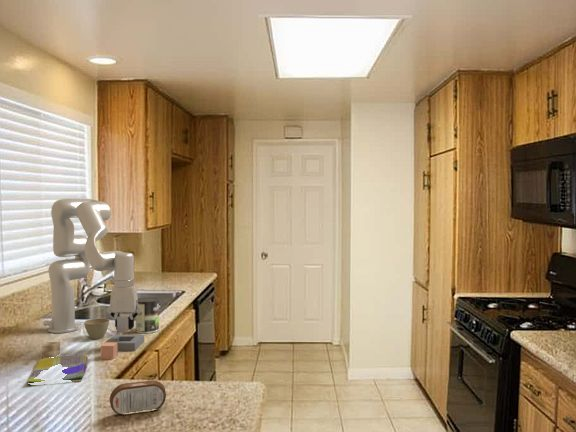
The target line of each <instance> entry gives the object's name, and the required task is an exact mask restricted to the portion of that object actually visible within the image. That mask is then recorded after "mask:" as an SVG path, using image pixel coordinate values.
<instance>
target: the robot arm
mask: <svg viewBox="0 0 576 432" xmlns="http://www.w3.org/2000/svg"><path fill="white" fill-rule="evenodd" d="M50 213H51V214H50V215H51V219H52V220H51V221H52V224H53V234H52V235H53V236H52V238H53V239H52V251H53V254H54V255H55V256H56V257H58V258H65V259H60V260H55V261H53V262H51V263H50V265H49V266H48V277H49V281H50V290H51V291H50V292H51V293H50V294H51V295H50V296H51V298H50V299H51V303H50V304H51V319H50V320H44V321H43V326H45V327H46V326H48V328H47V331H48V332H49V333H50V334H51V333H52V334H65V333H70V332H71V333H72V332H74V331H75V332H76V331H77V330H79V324H76V316H75V315H76V314H75V313H76V312H75V311H76V310H75V309H76V308H75V307H76V304H75V303H76V301H75V289H74V286H73V285H72V284H71V282H70V281H75V280H81V279H85V278H86V277H88V275H89V273H90V269H91V268H92V269H93V270H95V271H97V272H103V271H104V272H105V271H112V270H113V273H114V274H113V276H114V278H113V280H110V284H111V285H113V287H112V288H111V293H110V301H109V306H108V307H107V308H106V313H108V315H110V316H111V317H112V318H113V320H114V326H115V329H116V331H117V317H118V316H119V315H121V314H129V316H130V320H129V330H130V331H131V330H132V329H134V327H135V319H136V316H137V315H138V314H139V313H141V312H142V311H143V310H142V309H141V307H140V306H139V305H138V299H139V298H138V292H137V287H136V286H135V256H134V253H132V252H124V251H121V250H112V251H111V250H108V251H99V249H98V247H97V244H96V242H97V241H99V240H101V239H103V238H104V237H105V236H106V235H107V234H108V232H109V231H108V230H109V229H108V226H107V224H106V221H108V220H109V219H110V218H111V215H112V209H111V207H110V205H109V204H108V203H107V202H105V201H103V200H102V201H101V200H95V199H93V198H92V199H91V198H62V199H58V200H56V201H55V202H54V203H53V204H52V205H51V210H50ZM72 219H78V220H79V222H80V225H81V226H82V228H83V230H84V233H85V234H86V235H87V236H85V235H83V234H75V225H74V223H73V220H72ZM68 257H74V258H68ZM67 258H68V259H67ZM90 266H91V268H90ZM136 310H138V311H137V312H136Z"/></svg>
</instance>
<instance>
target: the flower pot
mask: <svg viewBox="0 0 576 432" xmlns="http://www.w3.org/2000/svg"><path fill="white" fill-rule="evenodd" d="M83 325H84V328H85V331H86V333H87V335H88V337H89V338H90V339H92V340H100V339H103V338H104V337H105V335H106V334H107V331H108V329H109V325H110V319H109V318H102V317H97V318H90V319H87V320H85V321H84V323H83Z"/></svg>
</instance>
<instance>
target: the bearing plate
mask: <svg viewBox="0 0 576 432" xmlns="http://www.w3.org/2000/svg"><path fill="white" fill-rule="evenodd" d="M106 342H117V348H118V351H119V352H121V351H122V352H123V351H129V352H131V351H133V352H134V351H136V350H137V349H139V348H140V346H141V345H143V344H144V343H145V334H114V335H113V336H110V338H109V339H107V340H106V341H105V342H104V343H106Z"/></svg>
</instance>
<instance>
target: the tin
mask: <svg viewBox="0 0 576 432" xmlns="http://www.w3.org/2000/svg"><path fill="white" fill-rule="evenodd" d="M166 392H167V391H166V388H165V386H164V385H163V383H161V382H160V381H158V380H153V379H151V380H145V381H136V382H135V381H133V382H126V383H121V384H119V385H117V386H116V387H114V389H113V390H112V391H111V393H110V396H109V404H110V409H111V410H112V412H114V413H115V414H116V415H118V414H123V413H129V412H136V411H143V410H152V409H158V410H159V409H160V408H162V406H164V404H165V402H166V399H167V397H166V396H167V393H166Z"/></svg>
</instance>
